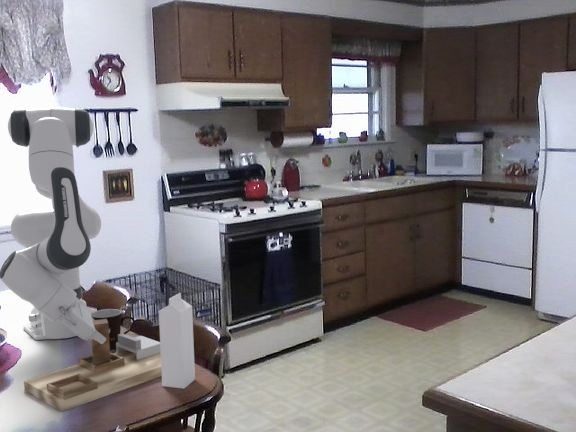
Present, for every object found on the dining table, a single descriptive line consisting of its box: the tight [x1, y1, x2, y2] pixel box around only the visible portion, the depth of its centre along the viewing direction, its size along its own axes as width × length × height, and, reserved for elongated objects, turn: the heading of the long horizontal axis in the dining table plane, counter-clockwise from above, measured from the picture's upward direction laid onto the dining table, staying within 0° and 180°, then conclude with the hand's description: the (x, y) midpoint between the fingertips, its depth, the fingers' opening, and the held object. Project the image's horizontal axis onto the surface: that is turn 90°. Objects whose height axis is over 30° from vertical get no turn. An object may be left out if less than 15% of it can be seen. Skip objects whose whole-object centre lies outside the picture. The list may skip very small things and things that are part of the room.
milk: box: [158, 292, 196, 390], centre depth 153 cm, size 6×6×22 cm
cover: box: [115, 332, 161, 360], centre depth 169 cm, size 10×8×5 cm
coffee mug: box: [90, 308, 136, 351], centre depth 181 cm, size 12×9×10 cm
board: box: [23, 350, 162, 413], centre depth 157 cm, size 18×33×4 cm, turn 138°
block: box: [91, 319, 111, 366], centre depth 160 cm, size 4×4×11 cm
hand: (102, 335), depth 160 cm, fingers open, 8 cm apart
